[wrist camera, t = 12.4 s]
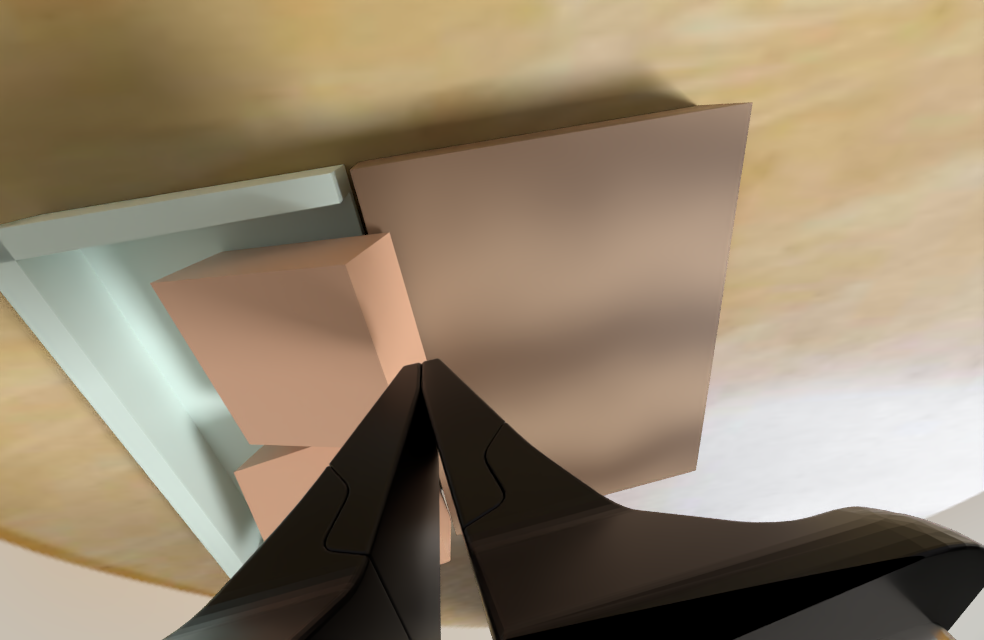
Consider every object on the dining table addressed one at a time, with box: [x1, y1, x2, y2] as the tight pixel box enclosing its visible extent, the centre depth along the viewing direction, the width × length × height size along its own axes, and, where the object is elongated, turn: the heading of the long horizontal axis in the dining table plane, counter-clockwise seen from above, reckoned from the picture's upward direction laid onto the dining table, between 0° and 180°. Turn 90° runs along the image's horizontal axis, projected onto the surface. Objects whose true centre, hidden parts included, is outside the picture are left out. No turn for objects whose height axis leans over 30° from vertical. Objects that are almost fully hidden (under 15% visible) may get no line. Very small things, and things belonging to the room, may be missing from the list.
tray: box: [0, 164, 441, 579], centre depth 15 cm, size 16×9×2 cm, turn 8°
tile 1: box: [150, 232, 427, 448], centre depth 12 cm, size 6×6×2 cm
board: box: [350, 102, 752, 535], centre depth 16 cm, size 16×12×2 cm
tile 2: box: [234, 445, 451, 564], centre depth 16 cm, size 6×6×2 cm
